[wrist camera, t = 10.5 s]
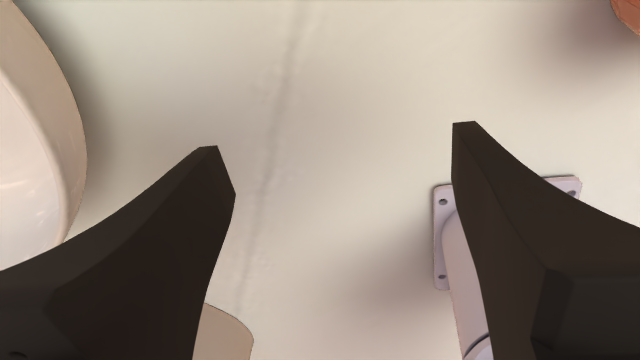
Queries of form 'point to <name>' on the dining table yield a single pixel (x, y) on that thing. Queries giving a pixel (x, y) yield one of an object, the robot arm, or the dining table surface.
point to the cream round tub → (221, 337)
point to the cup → (628, 13)
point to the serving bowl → (35, 144)
